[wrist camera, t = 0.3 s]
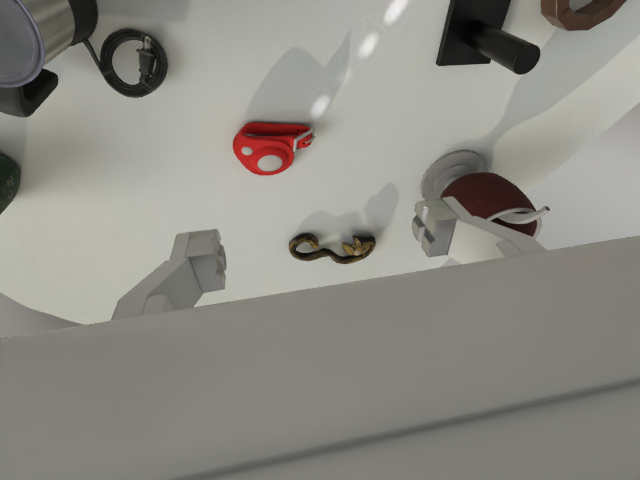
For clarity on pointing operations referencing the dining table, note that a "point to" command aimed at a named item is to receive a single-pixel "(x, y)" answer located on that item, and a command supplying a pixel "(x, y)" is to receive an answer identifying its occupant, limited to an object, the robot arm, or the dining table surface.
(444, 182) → the mate gourd
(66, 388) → the robot arm
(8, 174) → the coffee jar
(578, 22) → the walnut ring
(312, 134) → the tracker holder
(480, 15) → the rack post
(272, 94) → the dining table surface
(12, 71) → the milk frother
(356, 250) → the rubber snake
